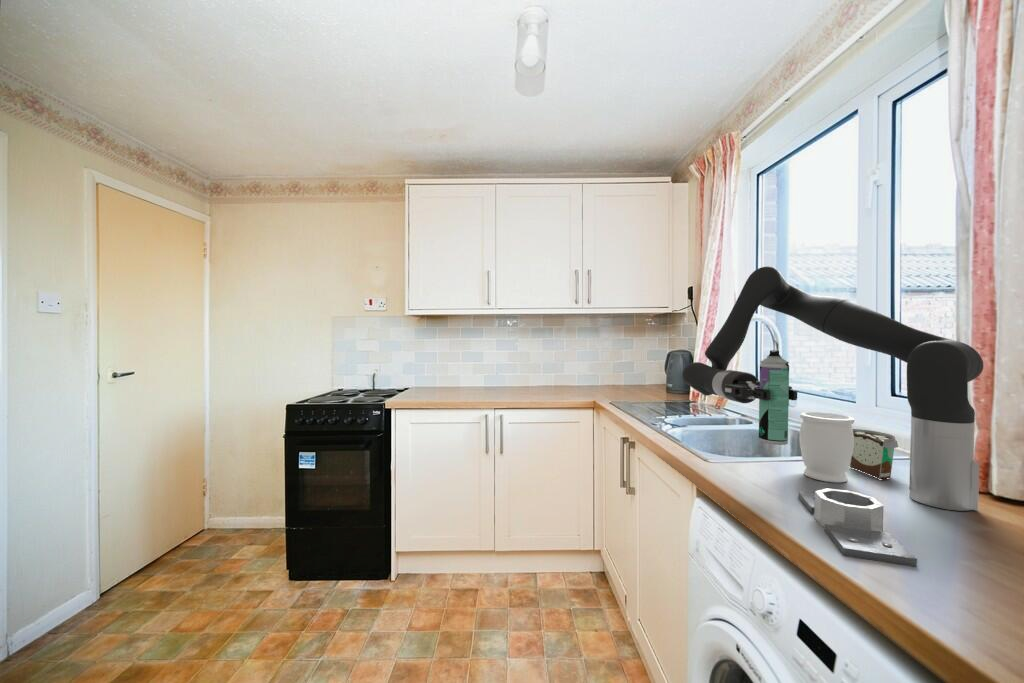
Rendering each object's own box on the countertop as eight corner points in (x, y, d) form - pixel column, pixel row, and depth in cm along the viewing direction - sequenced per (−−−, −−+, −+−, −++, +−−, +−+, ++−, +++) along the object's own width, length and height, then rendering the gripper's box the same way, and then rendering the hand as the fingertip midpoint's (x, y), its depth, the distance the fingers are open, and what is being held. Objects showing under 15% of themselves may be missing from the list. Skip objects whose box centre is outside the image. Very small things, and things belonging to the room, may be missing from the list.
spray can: (784, 439, 97) (785, 350, 96) (790, 445, 91) (792, 351, 91) (756, 437, 98) (757, 349, 98) (761, 443, 93) (763, 350, 93)
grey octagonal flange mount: (849, 502, 89) (850, 478, 88) (917, 566, 64) (917, 533, 64) (798, 496, 92) (798, 473, 92) (843, 555, 67) (844, 523, 67)
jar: (850, 475, 106) (851, 414, 106) (855, 488, 97) (857, 421, 97) (798, 468, 112) (799, 410, 111) (799, 479, 103) (800, 416, 103)
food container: (911, 482, 101) (913, 440, 101) (885, 482, 101) (886, 439, 101) (869, 466, 113) (870, 428, 113) (845, 466, 114) (846, 428, 113)
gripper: (707, 371, 108) (750, 378, 91) (762, 370, 109) (814, 377, 93) (707, 400, 108) (749, 413, 92) (761, 400, 110) (813, 412, 93)
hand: (782, 395), depth 92 cm, fingers closed on spray can, 5 cm apart
